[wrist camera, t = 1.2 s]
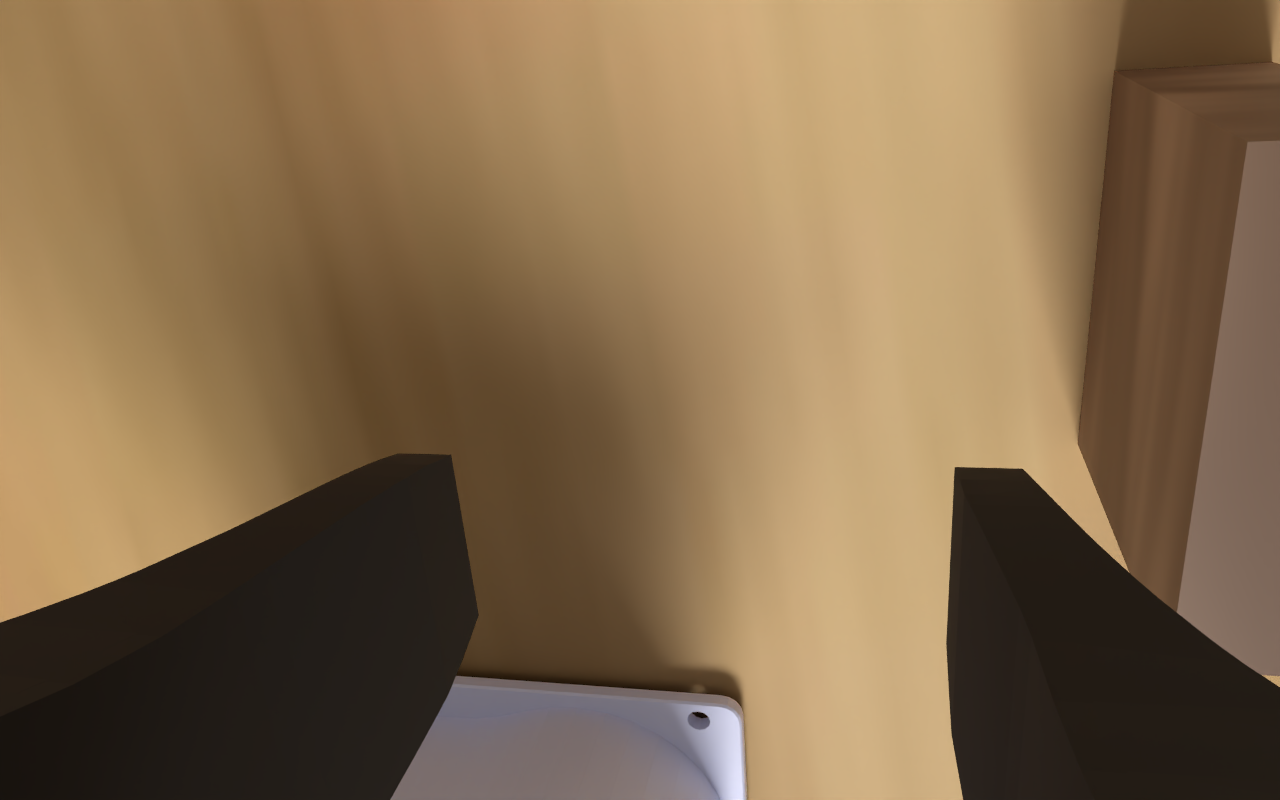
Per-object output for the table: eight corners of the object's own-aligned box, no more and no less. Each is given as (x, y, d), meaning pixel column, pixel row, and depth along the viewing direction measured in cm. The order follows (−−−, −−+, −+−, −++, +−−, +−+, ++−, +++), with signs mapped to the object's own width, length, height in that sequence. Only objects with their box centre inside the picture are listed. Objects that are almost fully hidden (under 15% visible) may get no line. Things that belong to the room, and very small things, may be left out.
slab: (1077, 443, 20) (1168, 668, 14) (1114, 71, 17) (1247, 142, 11) (1211, 445, 20) (1369, 682, 13) (1271, 61, 17) (1505, 131, 11)
